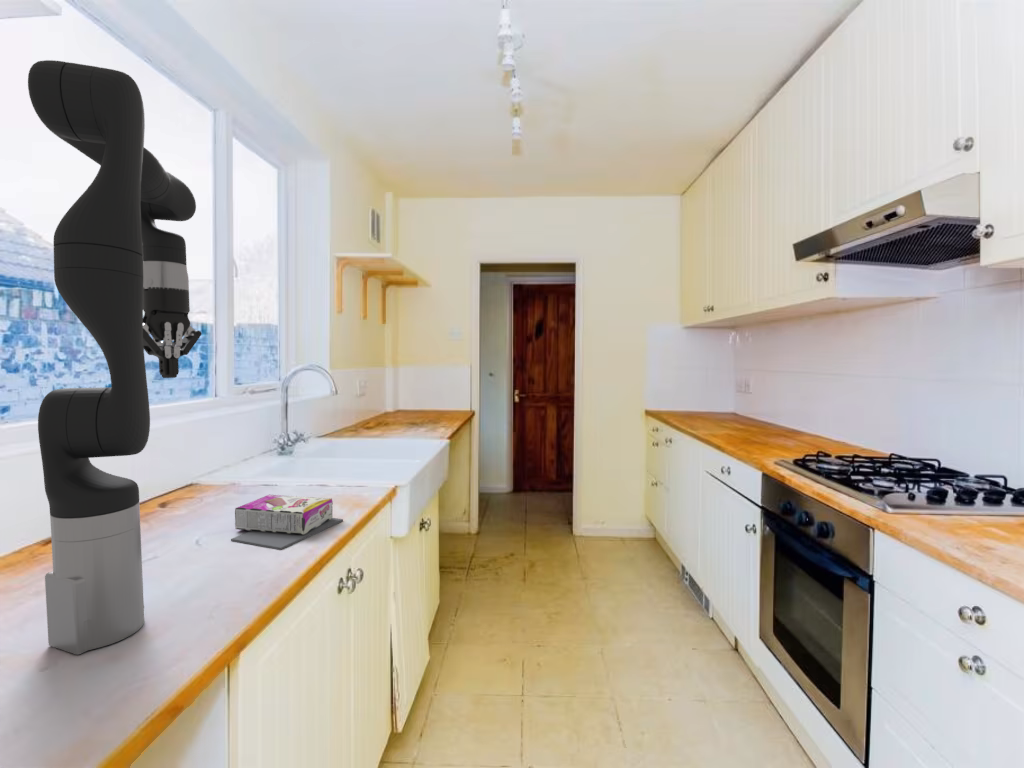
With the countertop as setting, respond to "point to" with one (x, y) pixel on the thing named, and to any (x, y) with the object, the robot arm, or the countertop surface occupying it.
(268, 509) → the candy bar box
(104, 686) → the countertop surface
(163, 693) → the countertop surface
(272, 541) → the mat
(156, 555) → the countertop surface
